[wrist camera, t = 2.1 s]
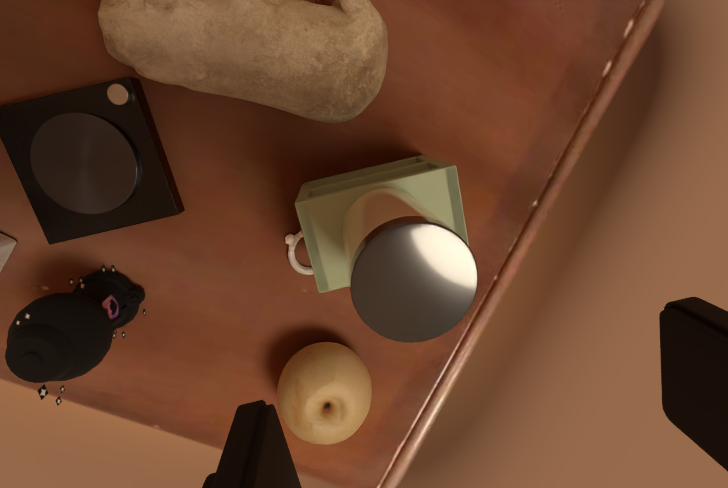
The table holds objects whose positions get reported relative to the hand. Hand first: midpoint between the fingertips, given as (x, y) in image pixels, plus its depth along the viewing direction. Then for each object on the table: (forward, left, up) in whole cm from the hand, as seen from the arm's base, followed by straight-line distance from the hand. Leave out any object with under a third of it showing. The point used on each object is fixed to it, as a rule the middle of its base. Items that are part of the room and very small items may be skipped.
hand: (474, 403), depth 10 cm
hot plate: (-8, -19, -26) cm, 34 cm away
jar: (0, 0, -17) cm, 17 cm away
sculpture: (-13, -5, -26) cm, 30 cm away
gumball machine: (+3, -23, -26) cm, 35 cm away
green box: (0, 0, -26) cm, 26 cm away
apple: (+14, -7, -26) cm, 31 cm away
